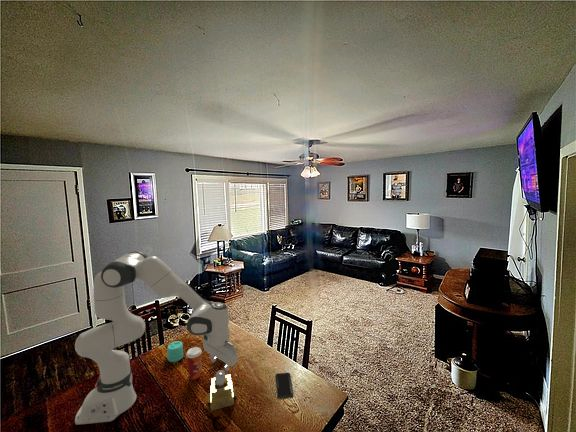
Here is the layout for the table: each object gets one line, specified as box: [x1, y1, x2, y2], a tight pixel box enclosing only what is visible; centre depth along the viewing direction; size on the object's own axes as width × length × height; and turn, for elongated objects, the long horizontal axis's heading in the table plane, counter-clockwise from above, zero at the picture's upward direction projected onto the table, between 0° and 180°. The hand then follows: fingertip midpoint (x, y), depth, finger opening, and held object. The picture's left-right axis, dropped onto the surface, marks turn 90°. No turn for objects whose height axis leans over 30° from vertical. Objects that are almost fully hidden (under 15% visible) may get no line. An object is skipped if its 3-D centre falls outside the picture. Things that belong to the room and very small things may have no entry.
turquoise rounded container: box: [166, 340, 184, 363], centre depth 146 cm, size 8×8×8 cm
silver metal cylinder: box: [214, 369, 226, 389], centre depth 116 cm, size 4×4×9 cm
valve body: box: [206, 374, 237, 411], centre depth 116 cm, size 13×10×8 cm
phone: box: [274, 372, 294, 399], centre depth 125 cm, size 8×1×15 cm
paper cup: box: [185, 346, 202, 380], centre depth 131 cm, size 8×8×14 cm
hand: (220, 365), depth 116 cm, fingers open, 8 cm apart
